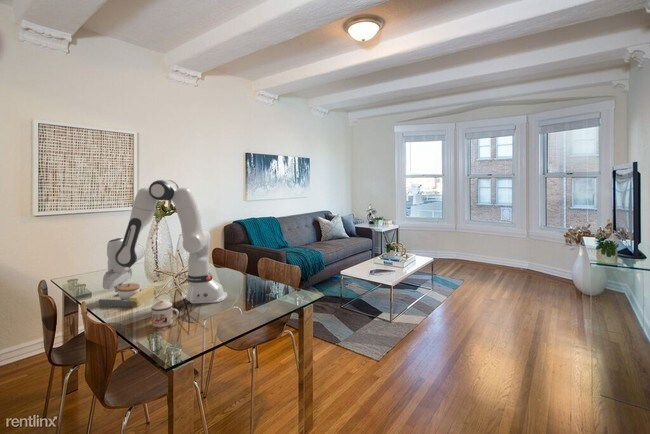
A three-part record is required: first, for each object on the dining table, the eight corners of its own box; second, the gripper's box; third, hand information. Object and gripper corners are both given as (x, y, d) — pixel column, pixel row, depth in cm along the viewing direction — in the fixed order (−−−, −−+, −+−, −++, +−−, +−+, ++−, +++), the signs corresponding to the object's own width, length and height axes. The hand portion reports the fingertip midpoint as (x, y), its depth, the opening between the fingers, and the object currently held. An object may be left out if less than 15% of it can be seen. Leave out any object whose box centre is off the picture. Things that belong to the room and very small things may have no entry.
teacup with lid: (148, 328, 155) (147, 303, 153) (157, 319, 164) (156, 296, 162) (175, 327, 155) (174, 303, 154) (182, 319, 164) (181, 296, 163)
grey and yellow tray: (155, 294, 196) (155, 286, 196) (137, 306, 178) (136, 297, 178) (120, 293, 197) (120, 285, 196) (98, 305, 179) (98, 296, 179)
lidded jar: (117, 298, 189) (116, 282, 188) (138, 295, 195) (138, 279, 194) (118, 304, 180) (118, 288, 179) (141, 301, 186) (140, 285, 185)
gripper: (110, 273, 175) (111, 298, 177) (133, 262, 195) (134, 285, 197) (98, 272, 175) (99, 298, 177) (123, 262, 196) (124, 285, 197)
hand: (118, 291), depth 187 cm, fingers closed, pressing on lidded jar
